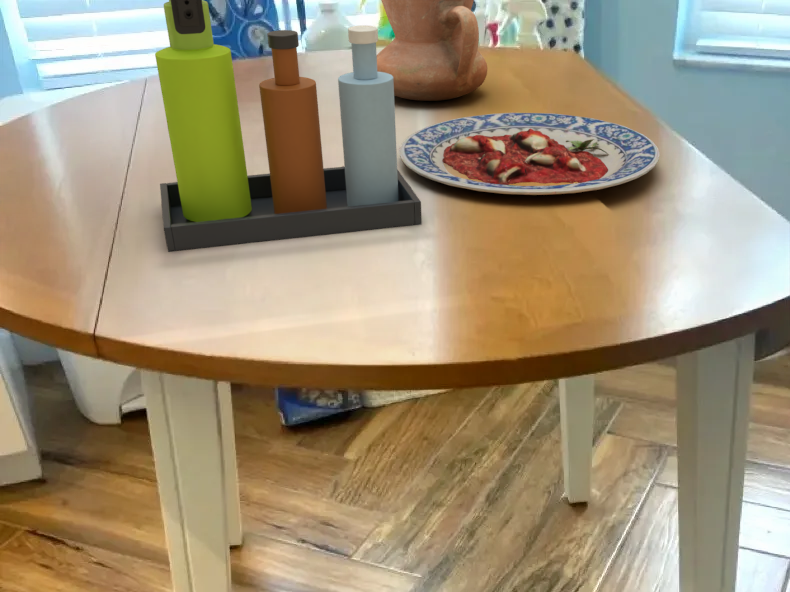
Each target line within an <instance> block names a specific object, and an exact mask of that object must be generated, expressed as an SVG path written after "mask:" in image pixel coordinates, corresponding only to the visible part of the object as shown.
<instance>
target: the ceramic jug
mask: <svg viewBox="0 0 790 592" xmlns="http://www.w3.org/2000/svg"><path fill="white" fill-rule="evenodd" d="M380 1H381V3H382V6H383V9H384V12H385V15H386V17H387V20H388V22H389V25H390V26H391V29H392V32H393V33H394V38H393V40H392V41H391V42H389V44H388V45H386V46H385V47H384V48H383V49H381V50H380V51H379V52H378V53H376V54H377V72H384V73H388V74H391V75H392V76H393V82H394V97H398V98H401V99H403V100H404V99H405V100H410V101H420V102H421V101H422V102H438V101H439V102H440V101H447V100H452V99H457V98H459V97H463V96H465V95H469V94H470V93H473V92H474V91H476V90H478V88H480V87H481V86H482V85H483V84H484V82H485V81H486V79H487V75H488V64H487V61H486V58H485V57H484V55H483V54H482V52H480V51H479V50H478V49H479V45H480V44H479V43H480V29H479V24H478V20H477V19H478V18H477V16H476V14H474V12H473V11H472V8H473V5H474V2H475V1H474V0H380Z"/></svg>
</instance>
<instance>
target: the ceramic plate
mask: <svg viewBox="0 0 790 592" xmlns="http://www.w3.org/2000/svg"><path fill="white" fill-rule="evenodd" d="M398 152H399V157H400V160H401V161H402V163H403V164H404V165H405V166H406V167H407V168H408V169H410V170H411V171H413V172H414V173H416V174H418V175H419V176H422V177H424V178H426V179H428V180H432V181H434V182H437V183H441V184H444V185H447V186H450V187H455V188H460V189H467V190H471V191H476V192H485V193H494V194H503V195H524V196H537V195H538V196H542V195H543V196H545V195H546V196H547V195H549V196H550V195H562V194H563V195H565V194H566V195H567V194H576V193H582V192H583V193H585V192H591V191H597V190H603V189H608V188H611V187H615V186H620V185H623V184H626V183H628V182H631V181H633V180H637V179H639V178H640V177H642V176H644V175H646V174H648V173H649V172H650V171H651V170H653V169H654V168H655V167H656V166H657V164H658V162H659V159H660V155H661V154H660V150H659V148H658V146H657V145H656V144H655V142H654V141H653V140H651V139H650V138H649V137H647V136H646V135H645V134H644V133H641V132H638V131H637V130H634V129H632V128H629V127H627V126H625V125H621V124H619V123H615V122H611V121H606V120H601V119H598V118H593V117H586V116H579V115H570V114H562V113H547V112H546V113H545V112H501V113H500V112H499V113H488V114H487V113H486V114H479V115H472V116H471V115H470V116H464V117H459V118H453V119H448V120H445V121H441V122H437V123H434V124H431V125H428V126H425V127H423V128H421V129H419V130H416V131H415V132H413V133H411V134H410V135H408V136H407V137H406V138H405V139H404V140H403V141H402V143H401V144H400V146H399V149H398ZM444 164H445V165H448V166H449V167H451V168H452V169H453V170H454V171H456V172H457V173H459V174H460V175H464V176H466V178H463V177H459V176H456V175H454V174H452V173H451V172H449V171H448V170H447V168H446V167H445V165H444ZM521 183H538V184H544V185H517V184H521ZM562 183H564V184H562ZM545 184H554V185H545ZM555 184H557V185H555Z"/></svg>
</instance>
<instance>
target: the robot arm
mask: <svg viewBox="0 0 790 592" xmlns="http://www.w3.org/2000/svg"><path fill="white" fill-rule="evenodd" d="M171 6H172V12H173V18H174V25H175V29H176V31H177V32H178V33H179V34H196V33H202V32H204V30H205V20H204V13H203V6H202V0H171Z"/></svg>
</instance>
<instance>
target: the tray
mask: <svg viewBox="0 0 790 592" xmlns="http://www.w3.org/2000/svg"><path fill="white" fill-rule="evenodd" d="M323 169H324V181H325V192H326V203H327V209H319V210H309V211H299V212H290V213H280V214H275V213H274V205H273V196H272V188H271V180H270V173H261V174H259V173H258V174H250V175H248V174H247V176H248V184H249V191H250V199H251V206H252V210H251V212H250V213H249V214H248V215H246V216H244V217H241V218H231V219H221V220H211V221H202V222H194V221H190V220H188V219H186V218H185V217H184V216H183V211H182V205H181V200H180V194H179V188H178V182H177V181H174V182H163V183H160V184H159V189H160V201H161V213H162V225H163V226H162V227H163V233H164V239H165V243H166V244H165V245H166V250H167V252H168V253H171V252H172V253H173V252H180V251H181V252H183V251H189V250H191V251H192V250H199V249H201V250H202V249H209V248H220V247H227V246H235V245H246V244H247V245H248V244H255V243H256V244H257V243H266V242H273V241H274V242H275V241H282V240H284V241H285V240H293V239H302V238H311V237H321V236H329V235H339V234H348V233H356V232H358V233H359V232H366V231H376V230H383V229H384V230H386V229H393V228H404V227H412V226H421V225H422V201H421V199H420V198H419V196H417V194H416V192H414V190H413V189H412V187H411V186H410V185H409V183H408V181H407V180H406V179H405V177H404V176H403V175H402V173H401V172H400V171H399V169H398V168H397V174H398V197H399V201H397V202H388V203H378V204H368V205H358V206H347V192H346V179H345V166H336V167H335V166H334V167H325V168H324V167H323Z"/></svg>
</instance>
